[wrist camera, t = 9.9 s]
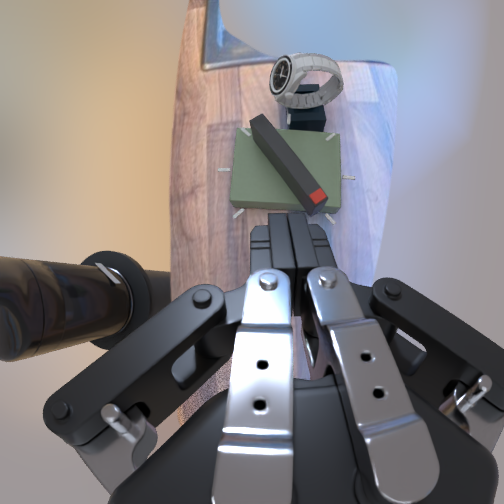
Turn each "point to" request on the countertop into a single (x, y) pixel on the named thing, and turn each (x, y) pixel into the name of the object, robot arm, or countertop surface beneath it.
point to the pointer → (288, 165)
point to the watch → (304, 89)
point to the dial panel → (269, 180)
